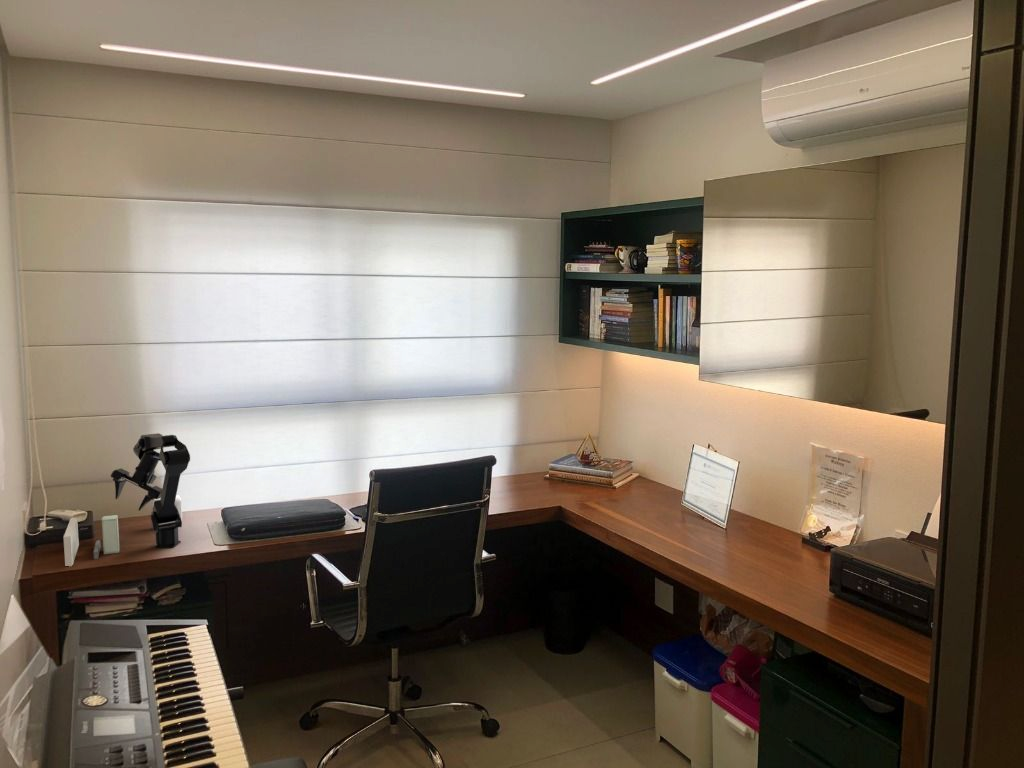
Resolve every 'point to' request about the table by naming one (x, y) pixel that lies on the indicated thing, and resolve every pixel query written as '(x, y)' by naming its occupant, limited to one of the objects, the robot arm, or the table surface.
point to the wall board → (75, 543)
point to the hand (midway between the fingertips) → (127, 504)
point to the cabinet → (110, 534)
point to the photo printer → (178, 505)
